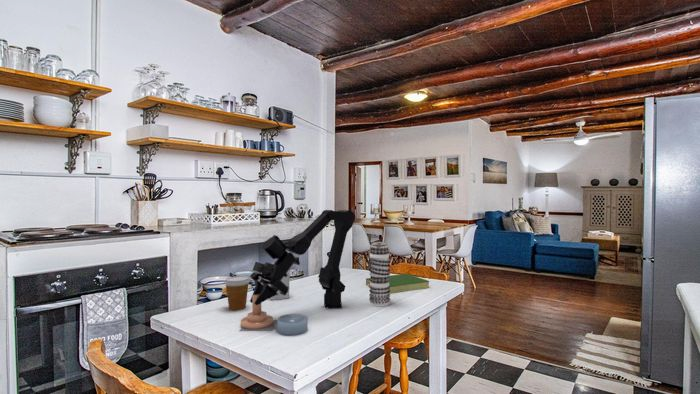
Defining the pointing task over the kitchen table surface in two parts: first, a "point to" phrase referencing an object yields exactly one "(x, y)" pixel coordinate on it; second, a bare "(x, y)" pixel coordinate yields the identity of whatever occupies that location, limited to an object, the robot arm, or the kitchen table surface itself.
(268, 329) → the mat
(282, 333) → the ramekin
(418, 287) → the hardcover book
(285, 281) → the skincare box
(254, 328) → the lid
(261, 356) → the kitchen table surface
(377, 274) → the white patterned cylinder
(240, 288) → the disposable coffee cup
